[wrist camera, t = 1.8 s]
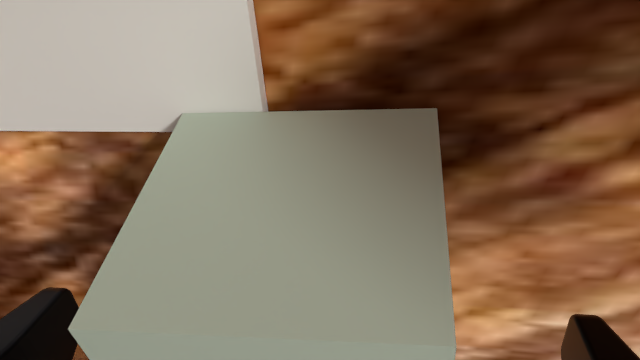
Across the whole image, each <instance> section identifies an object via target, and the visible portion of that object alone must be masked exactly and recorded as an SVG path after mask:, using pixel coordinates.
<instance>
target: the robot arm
mask: <svg viewBox="0 0 640 360" xmlns="http://www.w3.org/2000/svg"><path fill="white" fill-rule="evenodd" d="M78 309H79V307H78V305H77V303H76V301H75V299H74V297H73V295H72V293H71V291H70V290H68V289H66V288H46V289H44V290H42V291H40V292H39V293H37V294H36V295H34V296H33V297H32V298H30V299H29V300H27V301H26V302H24V303H23V304H21V305H20V306H19V307H17V308H16V309H14V310H13V311H11V312H10V313H8V314H7V315H6V316H4V317H3V318H1V319H0V360H72V359H73V356H74V353H75V350H76V347H77V344H78V343H77V341H76V340H75V339H74V337H73V336H72V334H71V333H70V332H69V330H68V328H69V326H70V324H71V322H72V320H73V318H74V317H75V315H76V313H77V311H78ZM561 359H562V360H640V358H639V357H638V356H637V355H636V354H635V353H634V352H633V351H632V350H631V349H630V348H629V347H628V346H627V345H626V344H625V342H624V341H623V340H622V339H621V338H620V337H619V336H618V335H617V334H616V333H615V332H614V331H613V330H612V329H611V328H610V327H609V326H608V325H607V324H606V322H605V321H604V320H603V319H602V318H600V317H598V316H596V315H583V314H574V315H572V316H571V317H570V319H569V322H568V326H567V329H566V332H565V336H564V339H563V342H562V346H561Z"/></svg>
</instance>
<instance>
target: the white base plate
mask: <svg viewBox="0 0 640 360" xmlns="http://www.w3.org/2000/svg"><path fill="white" fill-rule="evenodd" d="M227 112H268V105H267V98H266V91H265V84H264V77H263V69H262V62H261V55H260V48H259V41H258V33H257V26H256V19H255V12H254V5H253V0H0V131H99V132H173V130H174V128H175V127H176V125H177V123H178V121H179V119H180V117H181V115H182V113H227Z"/></svg>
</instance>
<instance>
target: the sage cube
mask: <svg viewBox="0 0 640 360" xmlns="http://www.w3.org/2000/svg"><path fill="white" fill-rule="evenodd" d="M68 330H69V332H70V333H71V334H72V336H73V337H74V339H75V340H76V341H77V343H78V344H79V346H80V347H81V348H82V350H83V351H84V353H85V354H86V355H87V357H88V358H89V360H455V354H456V337H455V325H454V313H453V300H452V288H451V275H450V263H449V250H448V238H447V226H446V213H445V201H444V188H443V176H442V164H441V151H440V139H439V126H438V114H437V108H423V109H374V110H325V111H276V112H227V113H182V115H181V117H180V119H179V121H178V123H177V125H176V127H175V128H174V130H173V132H172V134H171V136H170V138H169V140H168V142H167V144H166V145H165V147H164V149H163V151H162V153H161V155H160V157H159V159H158V160H157V162H156V164H155V166H154V168H153V170H152V172H151V174H150V175H149V177H148V179H147V181H146V183H145V185H144V187H143V189H142V191H141V192H140V194H139V196H138V198H137V200H136V202H135V204H134V206H133V207H132V209H131V211H130V213H129V215H128V217H127V219H126V221H125V222H124V224H123V226H122V228H121V230H120V232H119V234H118V236H117V238H116V239H115V241H114V243H113V245H112V247H111V249H110V251H109V253H108V254H107V256H106V258H105V260H104V262H103V264H102V266H101V268H100V269H99V271H98V273H97V275H96V277H95V279H94V281H93V283H92V285H91V286H90V288H89V290H88V292H87V294H86V296H85V298H84V300H83V301H82V303H81V305H80V307H79V309H78V311H77V313H76V315H75V317H74V318H73V320H72V322H71V324H70V326H69V328H68Z"/></svg>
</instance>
